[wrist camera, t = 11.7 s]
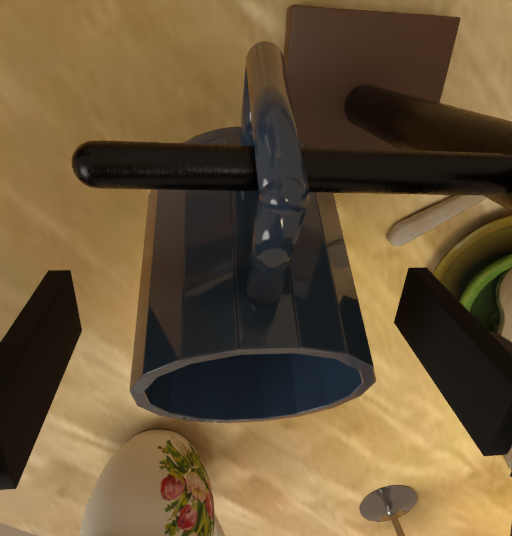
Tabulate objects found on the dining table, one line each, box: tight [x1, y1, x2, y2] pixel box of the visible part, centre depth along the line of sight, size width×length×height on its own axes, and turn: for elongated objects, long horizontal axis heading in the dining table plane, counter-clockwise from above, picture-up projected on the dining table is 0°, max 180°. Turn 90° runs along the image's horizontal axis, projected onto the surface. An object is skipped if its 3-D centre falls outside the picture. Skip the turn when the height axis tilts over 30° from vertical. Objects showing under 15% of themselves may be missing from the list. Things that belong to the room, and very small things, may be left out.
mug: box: [130, 41, 376, 423], centre depth 16 cm, size 13×9×10 cm, turn 177°
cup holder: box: [72, 5, 512, 211], centre depth 17 cm, size 10×18×22 cm, turn 87°
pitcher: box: [79, 430, 225, 536], centre depth 35 cm, size 11×18×14 cm, turn 39°
